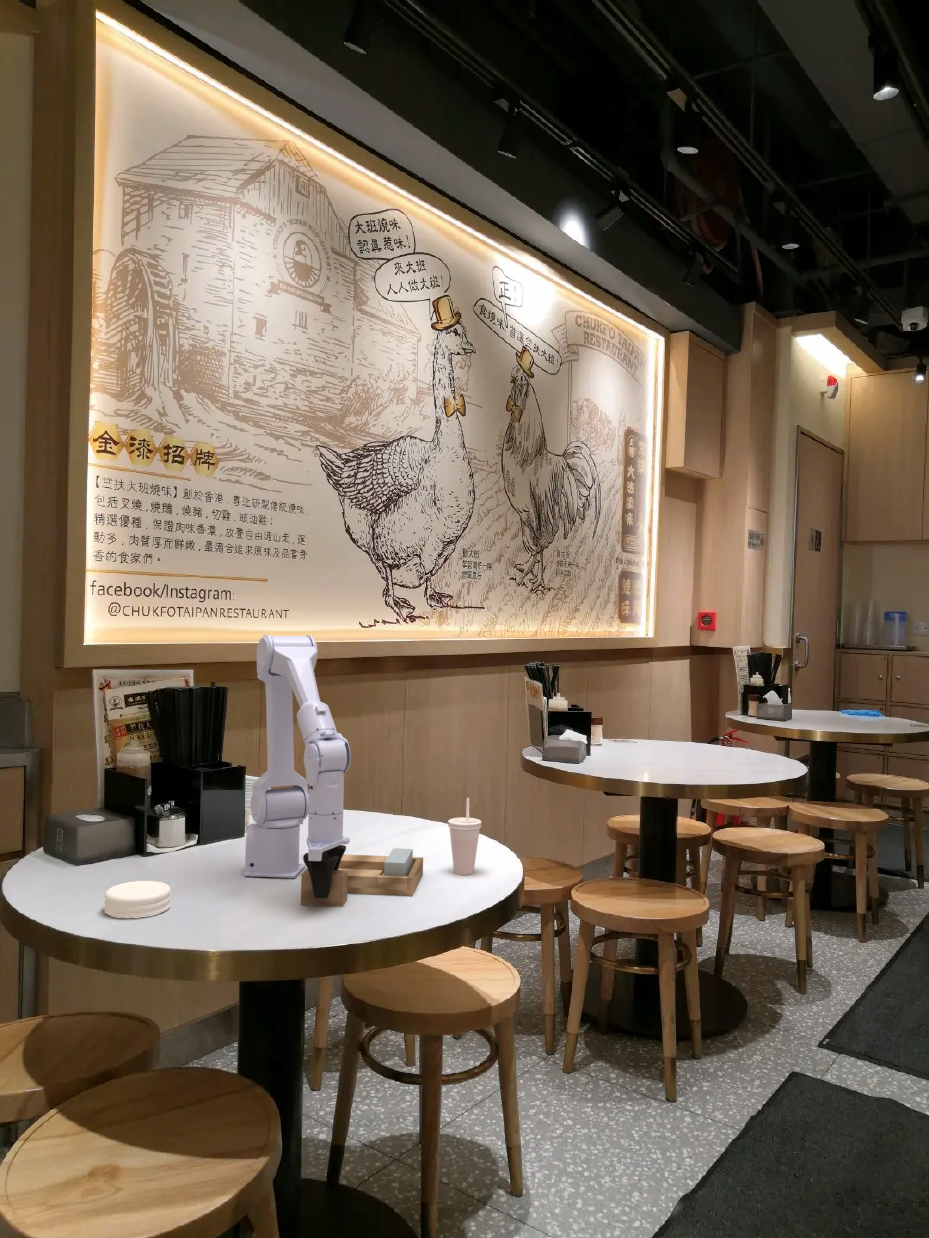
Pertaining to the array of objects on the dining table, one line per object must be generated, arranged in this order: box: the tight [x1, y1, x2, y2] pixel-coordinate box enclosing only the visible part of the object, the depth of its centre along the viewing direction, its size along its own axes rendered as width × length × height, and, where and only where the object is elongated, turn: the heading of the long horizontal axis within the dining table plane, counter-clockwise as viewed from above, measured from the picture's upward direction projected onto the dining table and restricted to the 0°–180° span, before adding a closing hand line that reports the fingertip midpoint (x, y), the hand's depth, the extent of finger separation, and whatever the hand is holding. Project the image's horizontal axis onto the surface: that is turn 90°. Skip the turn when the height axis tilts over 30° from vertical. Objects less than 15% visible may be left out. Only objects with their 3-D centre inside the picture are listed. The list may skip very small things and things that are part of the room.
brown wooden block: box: [300, 868, 348, 908], centre depth 147 cm, size 7×3×5 cm, turn 85°
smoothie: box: [447, 797, 482, 876], centre depth 167 cm, size 6×6×14 cm
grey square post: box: [384, 847, 414, 877], centre depth 159 cm, size 4×10×4 cm, turn 176°
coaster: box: [103, 880, 172, 918], centre depth 142 cm, size 10×10×4 cm
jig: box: [338, 853, 424, 897], centre depth 159 cm, size 18×14×3 cm
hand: (324, 893), depth 147 cm, fingers closed on brown wooden block, 3 cm apart
